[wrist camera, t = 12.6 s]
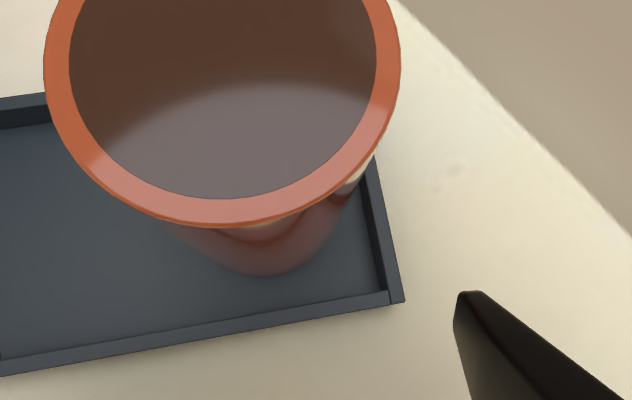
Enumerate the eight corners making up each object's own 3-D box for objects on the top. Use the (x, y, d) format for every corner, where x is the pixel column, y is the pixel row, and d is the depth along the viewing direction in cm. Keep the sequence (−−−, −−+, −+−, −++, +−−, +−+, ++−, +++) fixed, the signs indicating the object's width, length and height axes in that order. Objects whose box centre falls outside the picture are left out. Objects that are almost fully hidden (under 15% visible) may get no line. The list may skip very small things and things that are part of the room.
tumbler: (282, 309, 21) (269, 304, 8) (154, 221, 21) (-40, 91, 9) (367, 182, 22) (465, 14, 10) (245, 102, 23) (190, -152, 10)
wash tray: (-63, 387, 20) (-108, 397, 18) (-65, 131, 22) (-105, 111, 20) (394, 303, 21) (406, 302, 19) (346, 73, 24) (351, 49, 22)
